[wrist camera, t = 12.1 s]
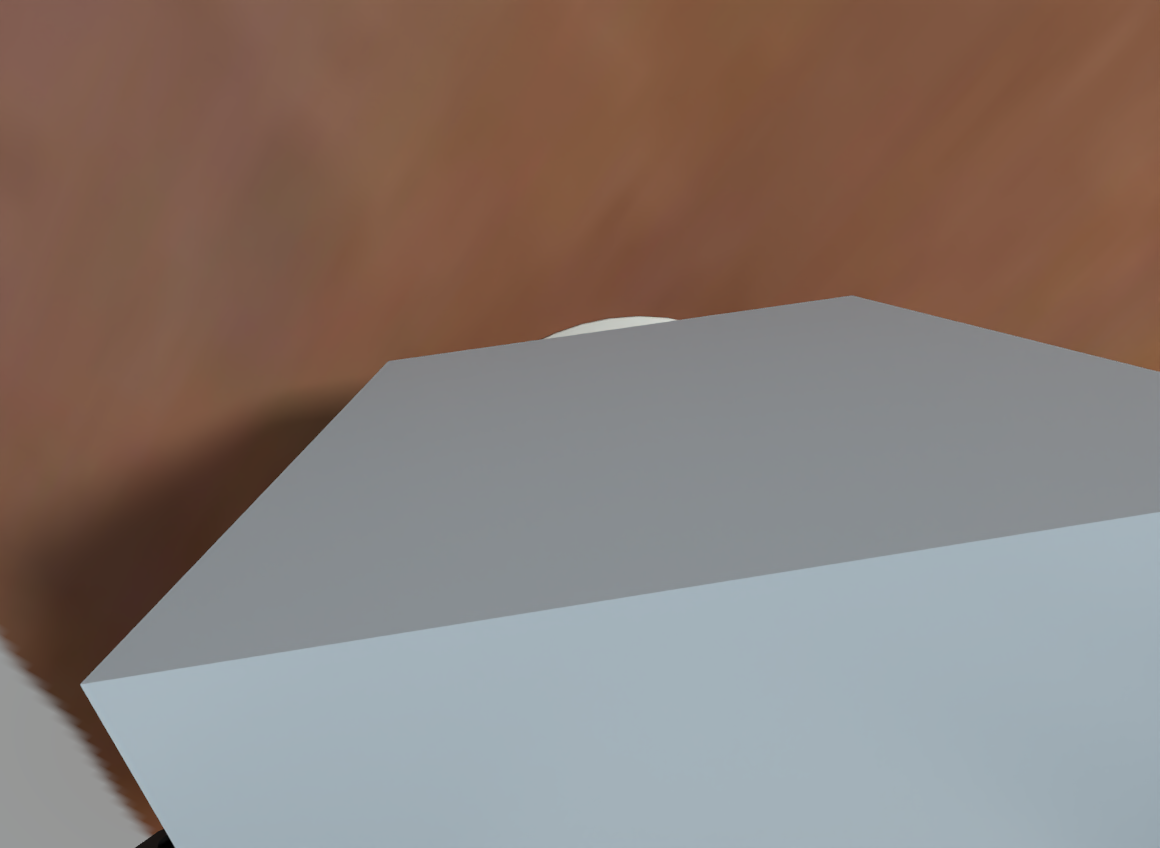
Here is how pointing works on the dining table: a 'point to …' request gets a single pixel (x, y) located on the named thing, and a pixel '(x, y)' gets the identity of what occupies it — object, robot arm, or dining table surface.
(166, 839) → the robot arm
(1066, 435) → the pale blue cuboid
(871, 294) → the dining table surface
